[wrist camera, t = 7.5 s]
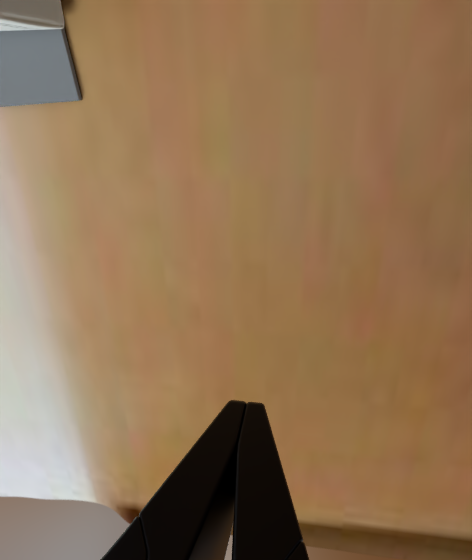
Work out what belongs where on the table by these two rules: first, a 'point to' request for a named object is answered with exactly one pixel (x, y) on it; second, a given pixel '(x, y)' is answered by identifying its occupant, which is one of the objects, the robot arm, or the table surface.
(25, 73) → the mat
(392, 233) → the table surface
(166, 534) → the robot arm
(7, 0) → the ink box
